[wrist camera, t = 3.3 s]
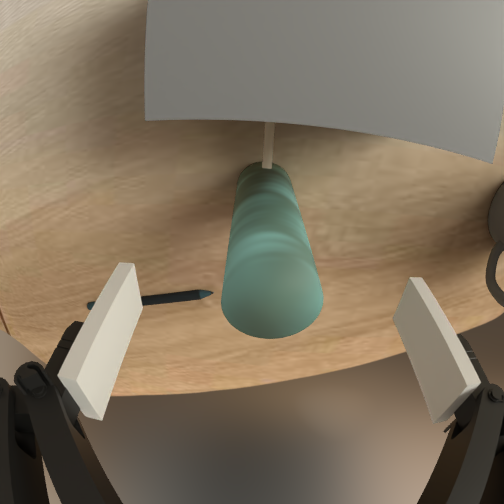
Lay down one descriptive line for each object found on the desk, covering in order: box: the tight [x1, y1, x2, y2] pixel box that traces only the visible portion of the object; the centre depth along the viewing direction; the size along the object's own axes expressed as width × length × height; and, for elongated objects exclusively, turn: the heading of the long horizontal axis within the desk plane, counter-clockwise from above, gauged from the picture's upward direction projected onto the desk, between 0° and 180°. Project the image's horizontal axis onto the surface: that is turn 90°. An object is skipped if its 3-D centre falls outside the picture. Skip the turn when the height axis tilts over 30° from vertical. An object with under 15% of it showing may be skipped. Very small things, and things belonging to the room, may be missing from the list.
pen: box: [87, 290, 214, 310], centre depth 32 cm, size 1×16×1 cm, turn 100°
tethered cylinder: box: [221, 122, 323, 339], centre depth 16 cm, size 6×17×14 cm, turn 177°
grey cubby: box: [144, 0, 504, 164], centre depth 14 cm, size 18×11×11 cm, turn 87°
